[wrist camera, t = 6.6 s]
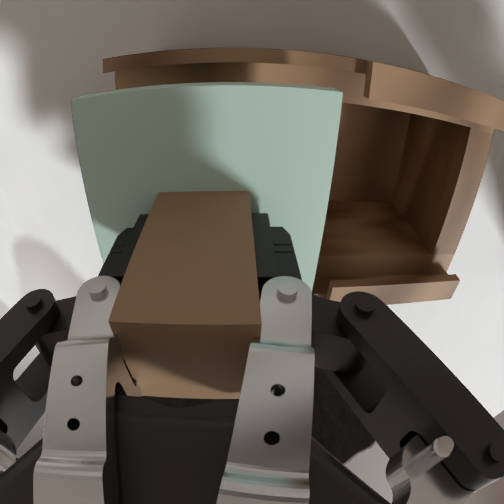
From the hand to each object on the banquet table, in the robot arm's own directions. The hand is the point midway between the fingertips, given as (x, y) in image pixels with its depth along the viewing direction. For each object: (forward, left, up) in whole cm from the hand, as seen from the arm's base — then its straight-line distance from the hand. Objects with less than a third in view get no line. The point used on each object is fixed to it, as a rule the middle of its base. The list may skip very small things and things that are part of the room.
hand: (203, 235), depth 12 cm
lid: (0, 0, -1) cm, 1 cm away
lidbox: (-6, 0, -12) cm, 14 cm away
